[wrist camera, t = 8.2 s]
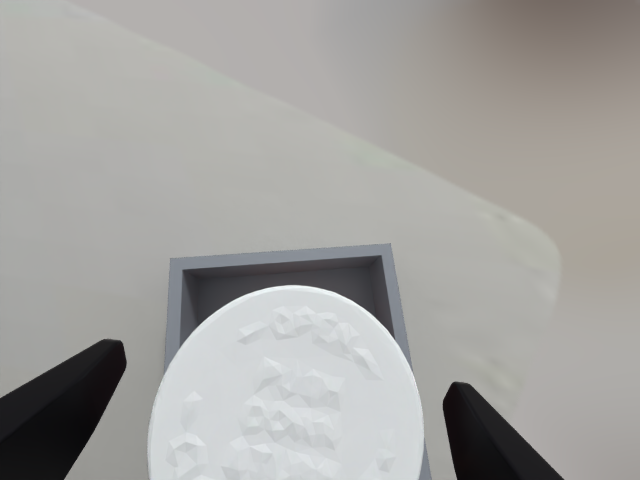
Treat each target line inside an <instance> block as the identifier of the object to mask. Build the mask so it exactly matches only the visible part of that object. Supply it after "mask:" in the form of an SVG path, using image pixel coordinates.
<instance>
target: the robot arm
mask: <svg viewBox="0 0 640 480" xmlns="http://www.w3.org/2000/svg"><path fill="white" fill-rule="evenodd" d="M126 364H127V361H126V356H125V351H124V346H123V343H122V342H121V341H120V340H113V339H104V340H101V341H99V342H97V343H96V344H94V345H92V346H90V347H89V348H87V349H85V350H83V351H82V352H80V353H78V354H76V355H75V356H73V357H71V358H69V359H68V360H66V361H64V362H62V363H61V364H59V365H57V366H55V367H54V368H52V369H50V370H48V371H47V372H45V373H43V374H41V375H40V376H38V377H36V378H34V379H33V380H31V381H29V382H27V383H26V384H24V385H22V386H20V387H19V388H17V389H15V390H13V391H12V392H10V393H8V394H6V395H5V396H3V397H1V398H0V480H64V479H65V477H66V476H67V474H68V472H69V471H70V469H71V468H72V466H73V464H74V463H75V461H76V460H77V458H78V456H79V455H80V453H81V452H82V450H83V448H84V447H85V445H86V444H87V442H88V440H89V439H90V437H91V435H92V434H93V432H94V430H95V428H96V426H97V425H98V423H99V421H100V419H101V417H102V415H103V413H104V411H105V409H106V407H107V405H108V403H109V401H110V399H111V397H112V395H113V393H114V391H115V389H116V387H117V385H118V383H119V381H120V379H121V377H122V375H123V373H124V371H125V369H126ZM443 412H444V417H445V423H446V428H447V433H448V439H449V444H450V449H451V454H452V460H453V464H454V469H455V473H456V477H457V480H564V479H563V478H562V477H561V476H560V475H559V474H558V473H557V472H556V471H555V470H554V469H553V468H552V467H551V466H550V465H549V464H548V463H547V462H546V461H545V460H544V459H543V458H542V457H541V456H540V455H539V454H538V453H537V452H536V451H535V450H534V449H533V448H532V447H531V445H530V444H529V443H528V442H526V440H524V438H523V437H522V436H521V435H519V433H518V432H517V431H516V430H515V429H514V428H513V427H512V426H511V425H510V424H509V423H508V422H507V421H506V420H505V419H504V418H503V417H502V416H501V415H500V414H499V413H498V412H497V411H496V410H495V409H494V408H493V407H492V406H491V405H490V404H489V403H488V402H487V401H486V400H485V399H484V398H483V397H482V396H481V395H480V394H479V393H478V392H477V391H476V390H475V389H474V388H473V387H472V386H471V385H470V384H468V383H463V382H453V383H452V384H451V386H450V388H449V390H448V392H447V394H446V396H445V398H444V400H443Z"/></svg>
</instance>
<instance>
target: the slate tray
mask: <svg viewBox="0 0 640 480" xmlns="http://www.w3.org/2000/svg"><path fill="white" fill-rule="evenodd" d="M285 285H300V286H310V287H316V288H320V289H324V290H328V291H331V292H335V293H337V294H339V295H341V296H343V297H345V298H347V299H350V300H352V301H353V302H355V303H356V304H358V305H359V306H361V307H362V308H364V309H365V310H367V311H368V312H369V313H370V314H372V315H373V316H374V317H375V318H376V319H377V320H378V321H379V322H380V323H381V324H382V325H383V326H384V327H385V328H386V329H387V330H388V332H389V333H390V334H391V336H392V337H393V339H394V340H395V341H396V343H397V344H398V345H399V347H400V349H401V351H402V352H403V354H404V356H405V358H406V360H407V362H408V364H409V366H410V368H411V371H412V373H413V369H412V363H411V357H410V352H409V346H408V340H407V334H406V329H405V323H404V317H403V311H402V306H401V300H400V294H399V288H398V283H397V277H396V271H395V265H394V259H393V254H392V248H391V243H389V244H375V245H360V246H345V247H331V248H316V249H301V250H287V251H272V252H257V253H243V254H228V255H213V256H199V257H184V258H170V271H169V290H168V309H167V328H166V346H165V365H164V375H165V373H166V371H167V369H168V366H169V364H170V363H171V361H172V360H173V358H174V356H175V355H176V353H177V352H178V350H179V349H180V347H181V346H182V345H183V343H184V342H185V341H186V340H187V338H188V337H189V336H190V335H191V334H192V332H193V331H194V330H195V329H196V328H197V327H198V326H199V325H200V324H201V323H202V322H204V321H205V320H206V319H207V318H208V317H209V316H211V315H212V314H213V313H215V312H216V311H217V310H219V309H220V308H222V307H223V306H225V305H226V304H228V303H230V302H232V301H233V300H235V299H237V298H240V297H242V296H244V295H246V294H249V293H252V292H255V291H259V290H263V289H266V288H271V287H277V286H285ZM419 480H432V479H431V473H430V467H429V461H428V456H427V450H426V444H425V438H424V452H423V460H422V466H421V471H420V476H419Z"/></svg>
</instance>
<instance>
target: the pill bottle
mask: <svg viewBox="0 0 640 480" xmlns="http://www.w3.org/2000/svg"><path fill="white" fill-rule="evenodd" d="M423 452H424V422H423V412H422V406H421V400H420V396H419V392H418V389H417V385H416V382H415V379H414V375H413V373H412V371H411V368H410V366H409V364H408V362H407V360H406V358H405V356H404V354H403V352H402V351H401V349H400V347H399V345H398V344H397V343H396V341H395V340H394V339H393V337H392V336H391V334H390V333H389V332H388V330H387V329H386V328H385V327H384V326H383V325H382V324H381V323H380V322H379V321H378V320H377V319H376V318H375V317H374V316H373V315H372V314H370V313H369V312H368V311H367V310H365V309H364V308H362V307H361V306H359V305H358V304H356V303H355V302H353V301H352V300H350V299H347V298H345V297H343V296H341V295H339V294H337V293H335V292H331V291H328V290H324V289H320V288H316V287H310V286H300V285H285V286H277V287H271V288H266V289H263V290H259V291H255V292H252V293H249V294H246V295H244V296H242V297H240V298H237V299H235V300H233V301H232V302H230V303H228V304H226V305H225V306H223V307H222V308H220V309H219V310H217V311H216V312H215V313H213V314H212V315H211V316H209V317H208V318H207V319H206V320H205V321H204V322H202V323H201V324H200V325H199V326H198V327H197V328H196V329H195V330H194V331H193V332H192V334H191V335H190V336H189V337H188V338H187V340H186V341H185V342H184V343H183V345H182V346H181V347H180V349H179V350H178V352H177V353H176V355H175V356H174V358H173V360H172V361H171V363H170V364H169V366H168V369H167V371H166V373H165V375H164V377H163V379H162V382H161V384H160V386H159V389H158V392H157V394H156V398H155V401H154V404H153V408H152V412H151V417H150V421H149V428H148V437H147V467H148V474H149V480H419V476H420V471H421V466H422V460H423Z"/></svg>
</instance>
